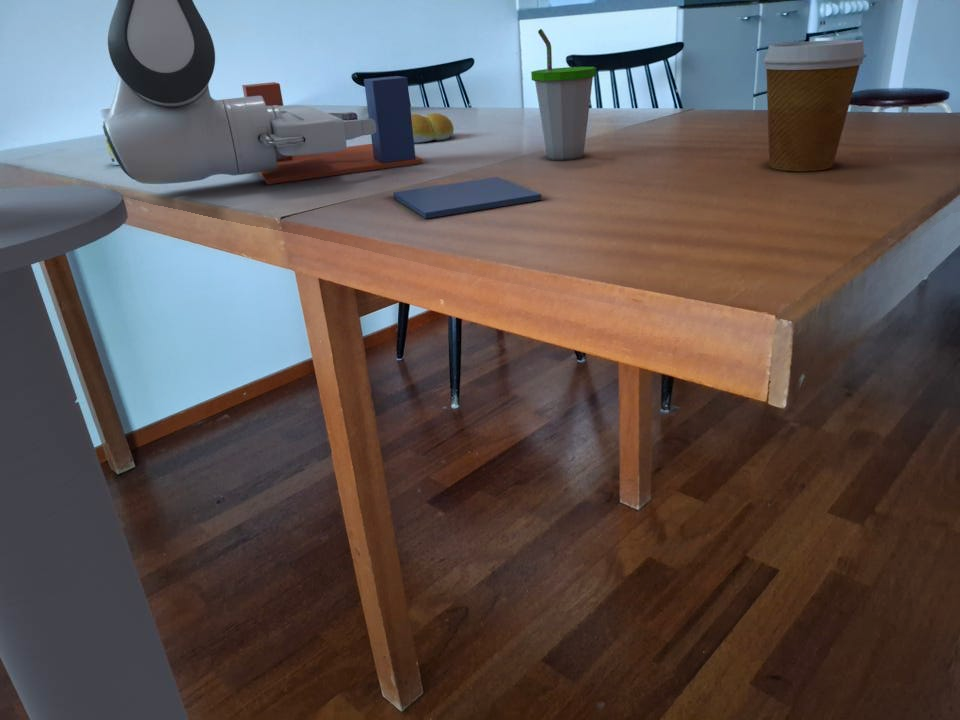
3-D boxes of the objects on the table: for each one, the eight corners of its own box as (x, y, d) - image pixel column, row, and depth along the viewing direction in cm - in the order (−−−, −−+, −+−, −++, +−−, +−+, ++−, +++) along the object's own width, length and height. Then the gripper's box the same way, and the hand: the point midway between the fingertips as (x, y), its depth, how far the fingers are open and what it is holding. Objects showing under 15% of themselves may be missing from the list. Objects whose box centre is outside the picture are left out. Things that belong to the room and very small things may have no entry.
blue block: (382, 163, 93) (372, 80, 89) (373, 158, 97) (363, 79, 93) (415, 159, 94) (407, 77, 90) (406, 154, 98) (397, 76, 94)
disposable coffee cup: (734, 167, 79) (743, 47, 74) (792, 154, 83) (805, 40, 78) (810, 178, 71) (826, 46, 66) (870, 164, 75) (890, 38, 70)
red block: (260, 163, 100) (245, 86, 95) (256, 159, 103) (242, 85, 99) (292, 159, 101) (279, 83, 97) (288, 155, 105) (275, 82, 101)
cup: (581, 149, 96) (580, 25, 89) (606, 157, 89) (607, 23, 83) (526, 156, 94) (520, 29, 88) (546, 165, 87) (542, 29, 81)
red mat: (267, 184, 88) (266, 179, 88) (251, 163, 105) (250, 159, 104) (422, 163, 95) (421, 158, 94) (384, 146, 111) (384, 142, 111)
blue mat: (425, 219, 67) (425, 212, 67) (393, 197, 76) (392, 192, 76) (541, 200, 71) (541, 193, 71) (497, 182, 80) (497, 176, 80)
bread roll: (461, 138, 113) (459, 111, 111) (407, 145, 109) (404, 118, 108) (442, 133, 120) (440, 107, 118) (390, 139, 116) (387, 113, 115)
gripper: (259, 115, 78) (383, 101, 82) (241, 102, 95) (344, 91, 100) (270, 174, 81) (390, 157, 85) (251, 151, 98) (351, 138, 102)
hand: (365, 121), depth 92 cm, fingers open, 8 cm apart
